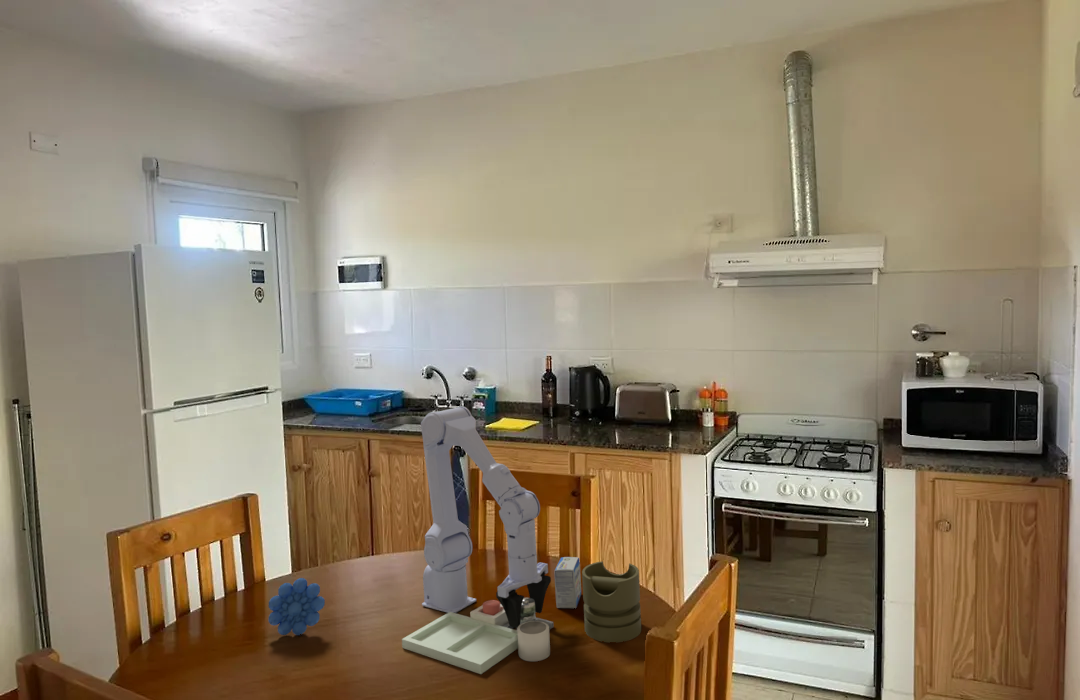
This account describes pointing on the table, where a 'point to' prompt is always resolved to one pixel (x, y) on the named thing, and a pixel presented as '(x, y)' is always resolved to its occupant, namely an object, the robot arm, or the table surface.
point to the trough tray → (463, 642)
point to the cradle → (550, 624)
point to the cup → (533, 641)
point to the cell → (527, 610)
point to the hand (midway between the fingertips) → (525, 619)
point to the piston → (611, 603)
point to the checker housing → (490, 616)
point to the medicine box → (567, 582)
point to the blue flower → (296, 607)
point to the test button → (491, 607)
